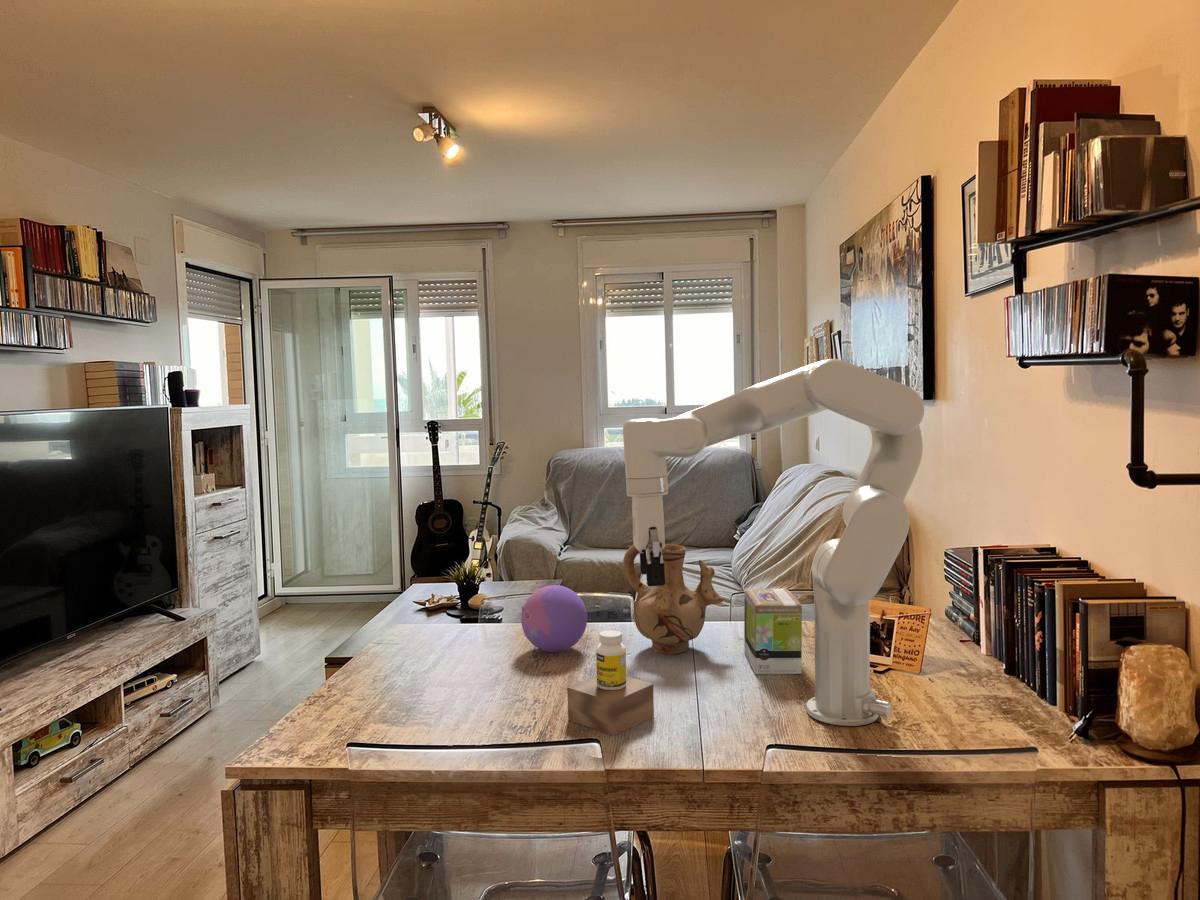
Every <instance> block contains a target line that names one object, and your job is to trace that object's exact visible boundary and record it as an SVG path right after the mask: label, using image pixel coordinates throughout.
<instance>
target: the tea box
mask: <svg viewBox="0 0 1200 900" xmlns="http://www.w3.org/2000/svg"><path fill="white" fill-rule="evenodd" d="M743 592H744V602H743V603H744V604H743V605H744V609H743V611H744V618H743V619H744V620H743V622H744V623H743V625H744V630H743V631H744V632H743V633H744V640H743V641H744V642H743V643H744V648H743V650H744V653H745V656H746V657H747V661H748V662H749V664H750V666H751V668H752V671H753V672H754V674H755V675H801V674H802V671H803V670H802V669H803V668H802V661H803V660H802V659H803V658H802V657H803V655H802V651H803V648H802V647H803V645H802V643H803V642H802V641H803V640H802V639H803V638H802V637H803V636H802V635H803V605H802V604H801V602H800V601H799V600H798V599H797V598H796V596H795V595H794V594H792V591H790V590H789V589H788V588H745V589H744V591H743Z"/></svg>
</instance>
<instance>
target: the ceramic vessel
mask: <svg viewBox="0 0 1200 900" xmlns="http://www.w3.org/2000/svg"><path fill="white" fill-rule="evenodd" d="M686 551H687V548H686V547H685V546H684V545H680V544H676V543H665V548H664V549H663V550H662V555H663V562H664V571H665V585H662V586H648V585H647V584H645V583H643V582H642V581H641V580H640V578H639V576H638V574H637V572H636V569H635V559H636V557H637V556H638V555H640V553H641V552H639V551H638V550H637V549H636V547H635V545H634V543H633V544H632V545H631V546H630V547H629V548H628V549H627V550H626V551H625V554H624V556H623V559H622V566H623V572H624V575H625V577H626V579H627V580H628V582H629V584H630V586H631V587H632V588H633V590H635V591H636V593H637V595H636V598H635V602H634V605H633V616H634V617H633V618H634V622H635V628H636V629H637V630H638V632H639V633H640V634H641V635H642V636H643V637H645V638H647V639H648V640H651V642H652V646H651V647H652V649H653V651H655V652H656V651H657V652H656V653H659V652H661V653H660V654H663V653H666V654H665V655H671V654H679V653H682V652H686V651H688V649H689V647H690V642H689V641H692V640H695V639H696V638H697V637H698V636H699V635H700V634H701V632H702V630H703V628H704V624H705V621H706V610H707V607H708V606H711V605H717V604H721V603H723V602H724V600H725V599H724V597H722V596H721V595H720V594H719V593H717V591H716V590H715V588H714V587H713V583H712V579H713V577H714V576H715V569H714V568H713V567H712V566H709V565H706V564H705V563H704V562H703V561H702V560H701V559H700V560H698V566H699V568H700V572H699V573H700V576H699V577H700V579H699V580H700V581H699V583H698V585H697V586H696V588H695V590H692V589H689V588H688V586H686V584H685V581H684V580H685V579H684V575H683V574H684V572H683V568H684V562H685V558H686Z"/></svg>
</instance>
